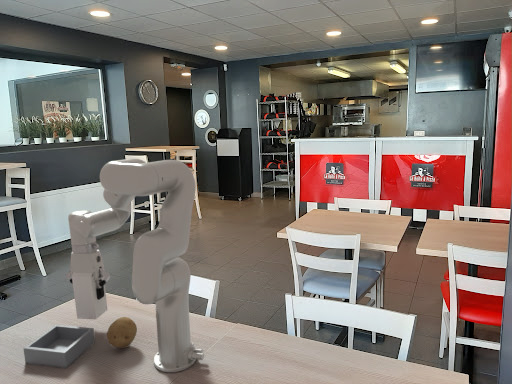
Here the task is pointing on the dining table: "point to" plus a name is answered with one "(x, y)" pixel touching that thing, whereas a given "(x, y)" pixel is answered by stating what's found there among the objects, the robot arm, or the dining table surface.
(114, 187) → the robot arm
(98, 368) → the dining table surface
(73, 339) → the box
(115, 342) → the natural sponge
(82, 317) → the milk carton
